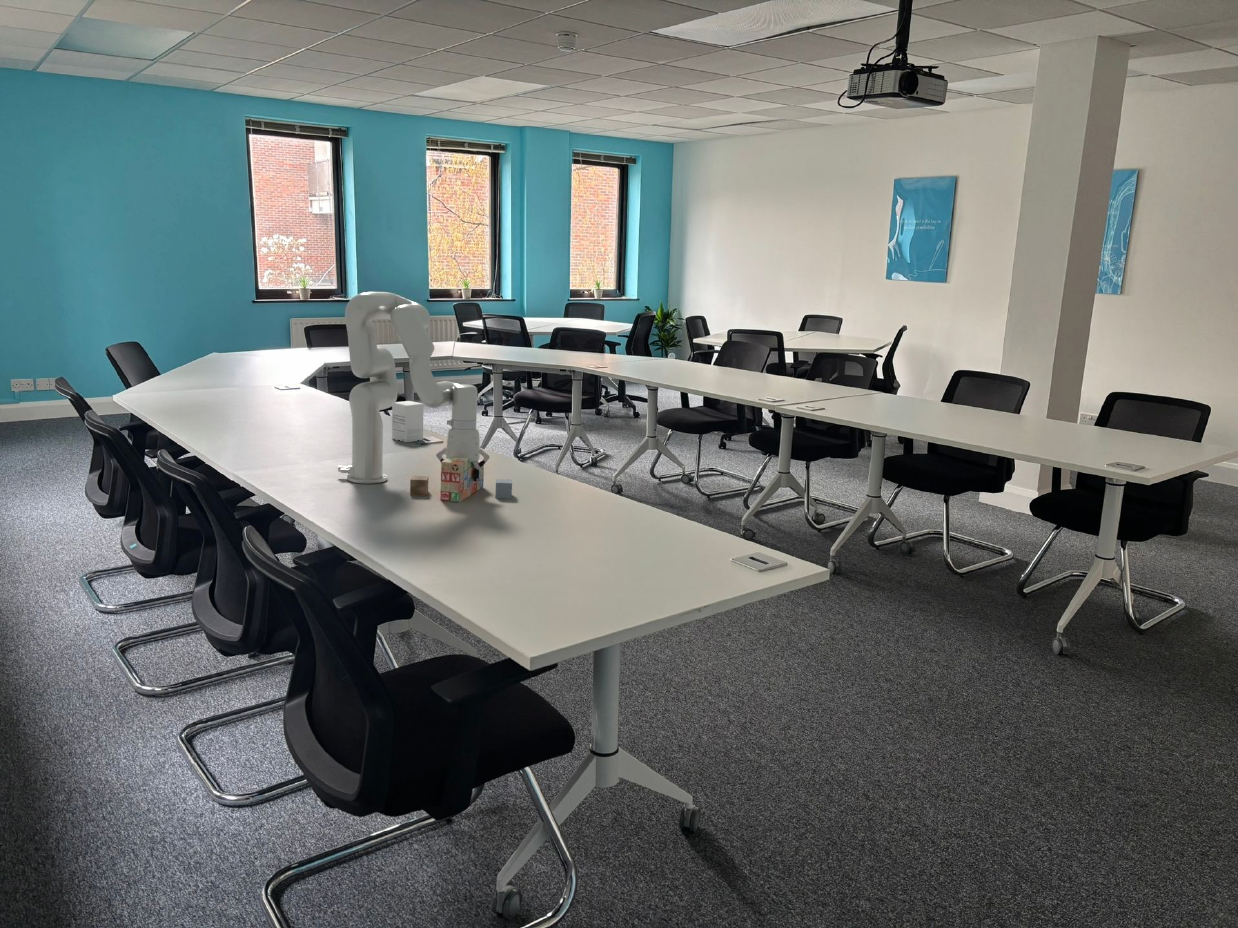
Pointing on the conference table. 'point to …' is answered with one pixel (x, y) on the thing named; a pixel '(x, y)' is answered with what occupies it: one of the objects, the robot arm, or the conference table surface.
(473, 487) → the stack of blocks
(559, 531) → the conference table surface
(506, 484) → the slate cube
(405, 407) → the supplement box
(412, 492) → the walnut cube
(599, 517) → the conference table surface
